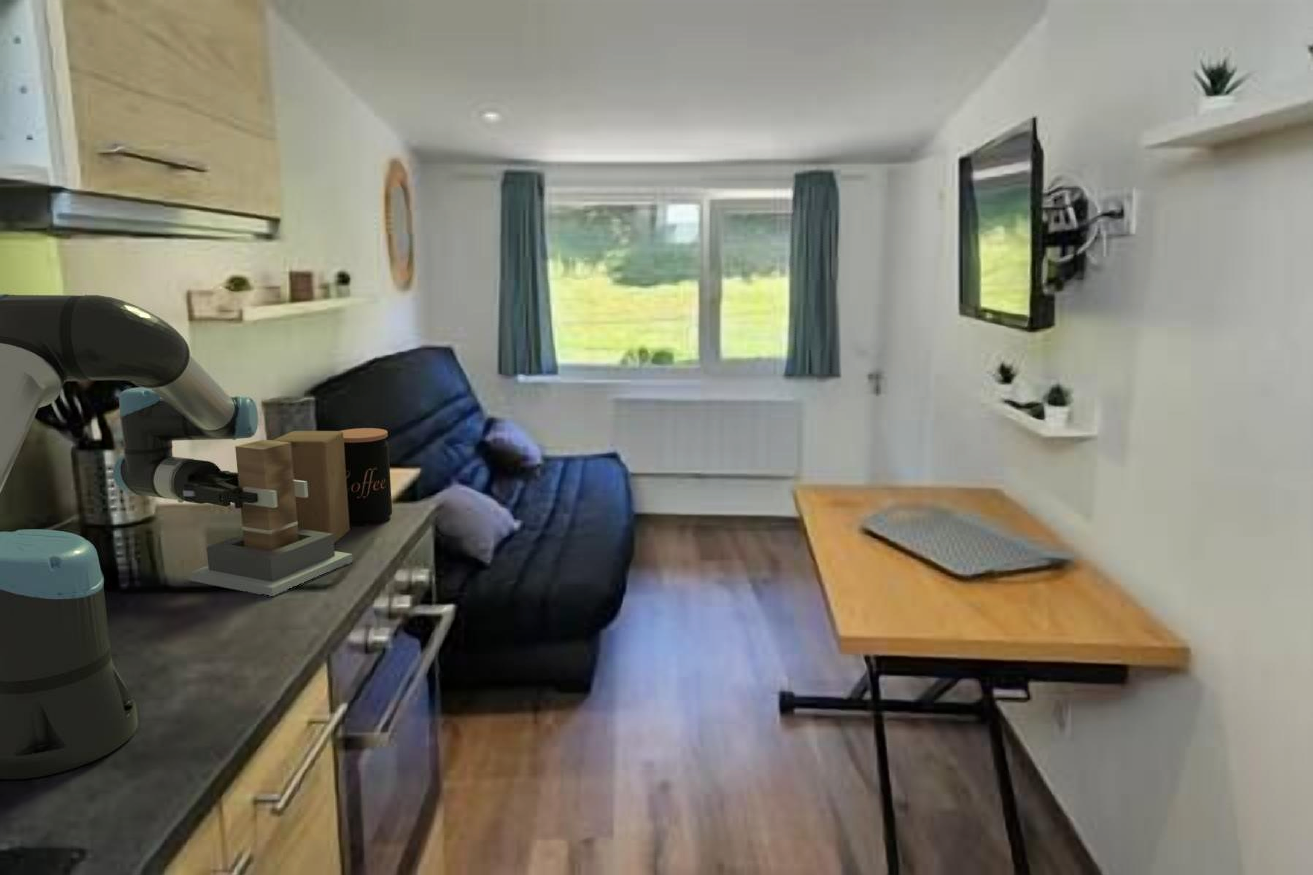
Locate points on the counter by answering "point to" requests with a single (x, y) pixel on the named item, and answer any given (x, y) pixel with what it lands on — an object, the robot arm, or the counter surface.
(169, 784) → the counter surface
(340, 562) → the socket board
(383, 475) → the coffee jar
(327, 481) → the wooden block
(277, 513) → the walnut peg
